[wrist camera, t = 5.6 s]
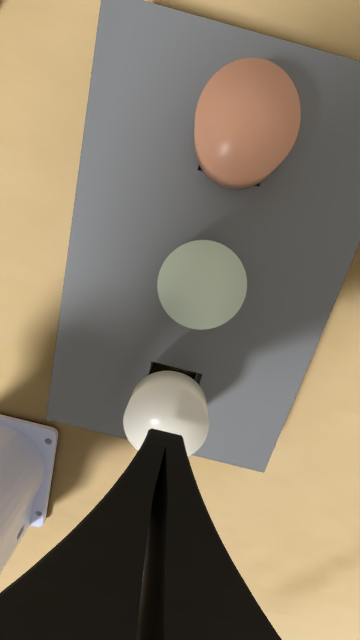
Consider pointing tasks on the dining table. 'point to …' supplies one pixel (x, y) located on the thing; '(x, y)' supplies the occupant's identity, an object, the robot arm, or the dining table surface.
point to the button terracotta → (245, 122)
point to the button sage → (202, 284)
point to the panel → (201, 230)
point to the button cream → (167, 409)
